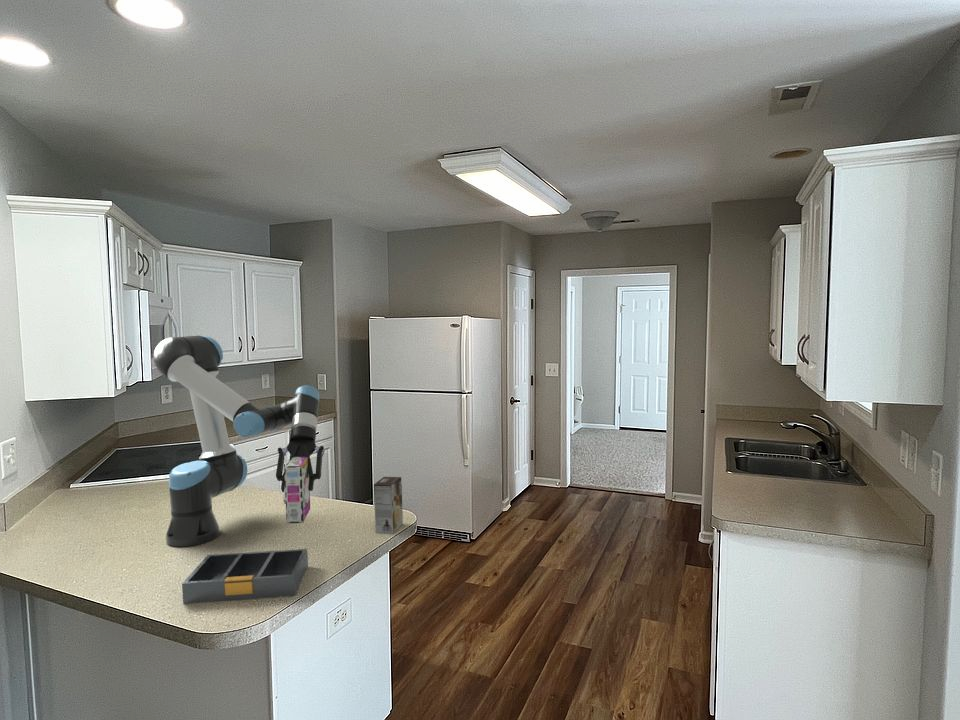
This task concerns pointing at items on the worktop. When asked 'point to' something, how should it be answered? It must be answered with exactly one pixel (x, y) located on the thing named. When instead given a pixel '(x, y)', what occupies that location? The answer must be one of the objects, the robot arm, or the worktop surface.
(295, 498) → the candy bar box
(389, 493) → the coffee box
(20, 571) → the worktop surface
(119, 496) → the worktop surface
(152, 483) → the worktop surface
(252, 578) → the bay rack
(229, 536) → the worktop surface
